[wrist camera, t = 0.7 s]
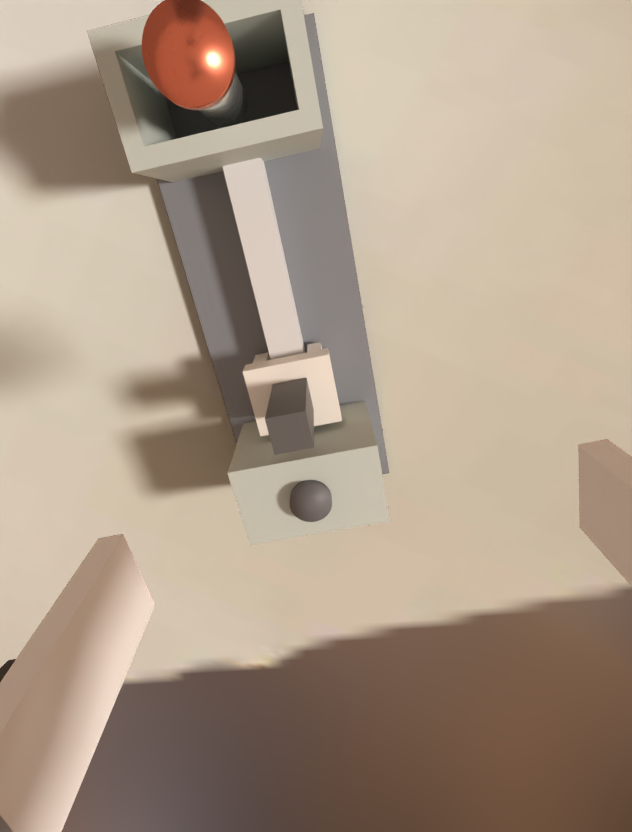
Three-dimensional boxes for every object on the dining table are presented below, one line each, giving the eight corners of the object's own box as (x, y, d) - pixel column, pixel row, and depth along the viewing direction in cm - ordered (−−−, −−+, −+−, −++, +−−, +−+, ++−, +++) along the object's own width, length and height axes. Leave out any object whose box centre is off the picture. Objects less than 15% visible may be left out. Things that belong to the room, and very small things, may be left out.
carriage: (249, 356, 36) (228, 403, 27) (327, 340, 35) (332, 383, 26) (265, 415, 38) (250, 479, 29) (339, 401, 37) (347, 461, 28)
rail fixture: (126, 65, 30) (48, 2, 21) (313, 18, 29) (314, -68, 20) (254, 492, 42) (238, 566, 33) (387, 468, 41) (408, 537, 32)
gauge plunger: (184, 71, 26) (128, 8, 18) (247, 56, 26) (218, -15, 18) (203, 144, 28) (159, 115, 20) (263, 130, 28) (243, 95, 19)
